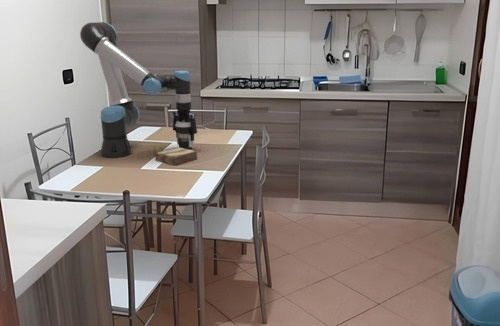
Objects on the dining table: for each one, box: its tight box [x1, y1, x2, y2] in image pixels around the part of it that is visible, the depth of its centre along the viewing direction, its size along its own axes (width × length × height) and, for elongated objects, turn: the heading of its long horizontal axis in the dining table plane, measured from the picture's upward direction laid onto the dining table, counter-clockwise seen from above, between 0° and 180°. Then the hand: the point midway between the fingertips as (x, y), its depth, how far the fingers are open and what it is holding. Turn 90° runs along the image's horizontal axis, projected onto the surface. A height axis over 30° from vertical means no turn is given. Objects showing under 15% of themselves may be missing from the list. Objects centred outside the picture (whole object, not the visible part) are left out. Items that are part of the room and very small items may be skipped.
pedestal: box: [154, 146, 198, 166], centre depth 236 cm, size 14×14×4 cm
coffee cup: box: [175, 120, 193, 150], centre depth 252 cm, size 10×10×15 cm
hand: (185, 145), depth 254 cm, fingers open, 8 cm apart
